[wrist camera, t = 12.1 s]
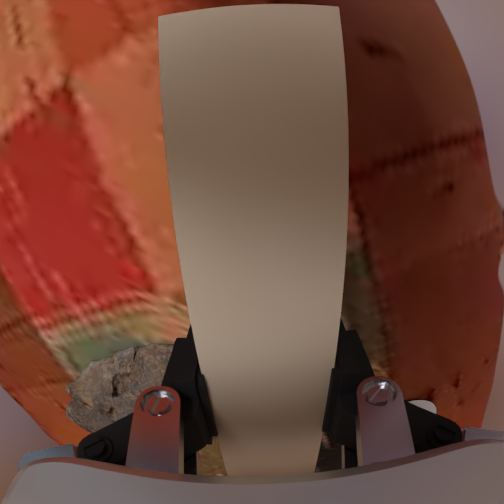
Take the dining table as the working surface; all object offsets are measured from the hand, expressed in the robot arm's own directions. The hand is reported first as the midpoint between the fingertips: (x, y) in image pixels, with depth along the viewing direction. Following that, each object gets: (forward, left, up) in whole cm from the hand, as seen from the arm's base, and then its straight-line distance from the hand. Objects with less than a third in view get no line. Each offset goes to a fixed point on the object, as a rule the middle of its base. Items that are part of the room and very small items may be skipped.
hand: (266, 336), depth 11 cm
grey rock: (+20, -16, -14) cm, 29 cm away
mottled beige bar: (0, 0, -2) cm, 2 cm away
